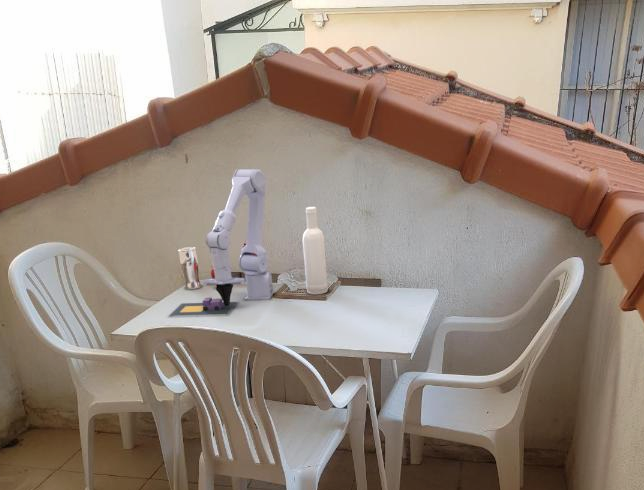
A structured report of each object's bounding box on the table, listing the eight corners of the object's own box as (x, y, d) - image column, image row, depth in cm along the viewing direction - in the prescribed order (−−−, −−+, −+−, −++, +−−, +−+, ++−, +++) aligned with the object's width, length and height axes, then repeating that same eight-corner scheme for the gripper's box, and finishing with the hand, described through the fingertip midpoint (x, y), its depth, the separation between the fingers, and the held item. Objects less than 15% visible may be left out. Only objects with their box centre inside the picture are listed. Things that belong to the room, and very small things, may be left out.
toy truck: (223, 305, 248) (222, 296, 247) (219, 310, 244) (218, 300, 242) (206, 306, 250) (205, 297, 248) (202, 310, 245) (200, 301, 243)
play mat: (237, 302, 252) (237, 301, 252) (227, 315, 240) (226, 314, 240) (182, 304, 255) (182, 303, 255) (169, 316, 243) (169, 315, 243)
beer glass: (194, 290, 271) (187, 251, 264) (181, 288, 275) (174, 250, 268) (205, 285, 276) (199, 247, 269) (192, 284, 280) (186, 246, 273)
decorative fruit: (230, 283, 276) (227, 258, 271) (224, 288, 269) (220, 263, 264) (216, 283, 277) (212, 258, 272) (210, 289, 270) (206, 263, 266)
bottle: (330, 288, 259) (324, 205, 245) (325, 294, 252) (319, 209, 238) (309, 288, 261) (302, 205, 247) (304, 294, 254) (297, 210, 240)
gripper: (198, 270, 237) (204, 309, 243) (239, 269, 234) (244, 308, 241) (204, 265, 243) (210, 303, 249) (244, 263, 240) (249, 301, 247)
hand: (227, 305), depth 245 cm, fingers closed
